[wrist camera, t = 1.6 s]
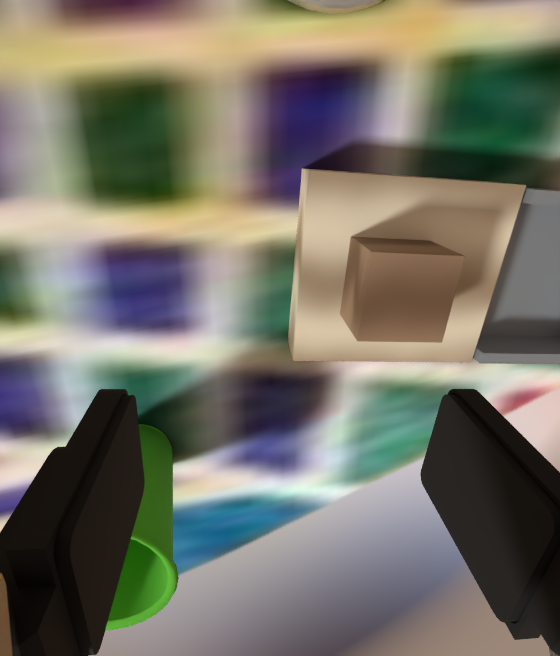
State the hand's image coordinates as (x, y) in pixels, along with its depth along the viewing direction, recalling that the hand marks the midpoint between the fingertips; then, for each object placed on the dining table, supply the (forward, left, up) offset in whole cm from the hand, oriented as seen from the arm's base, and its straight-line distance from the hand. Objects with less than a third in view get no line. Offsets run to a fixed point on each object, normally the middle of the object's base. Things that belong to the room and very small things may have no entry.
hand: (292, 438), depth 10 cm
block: (0, +8, -15) cm, 17 cm away
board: (0, +9, -18) cm, 20 cm away
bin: (0, +20, -18) cm, 27 cm away
